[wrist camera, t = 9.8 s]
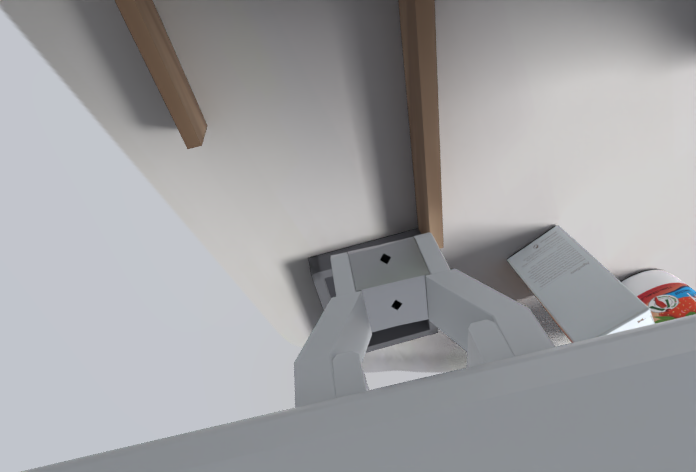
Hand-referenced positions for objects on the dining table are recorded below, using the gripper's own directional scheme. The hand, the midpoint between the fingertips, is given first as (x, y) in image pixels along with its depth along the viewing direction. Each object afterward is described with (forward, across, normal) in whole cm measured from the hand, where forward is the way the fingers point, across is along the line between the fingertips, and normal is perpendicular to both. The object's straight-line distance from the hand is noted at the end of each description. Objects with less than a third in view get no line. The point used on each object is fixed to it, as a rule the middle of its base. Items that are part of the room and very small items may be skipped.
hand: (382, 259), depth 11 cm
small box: (+17, -17, +22) cm, 32 cm away
